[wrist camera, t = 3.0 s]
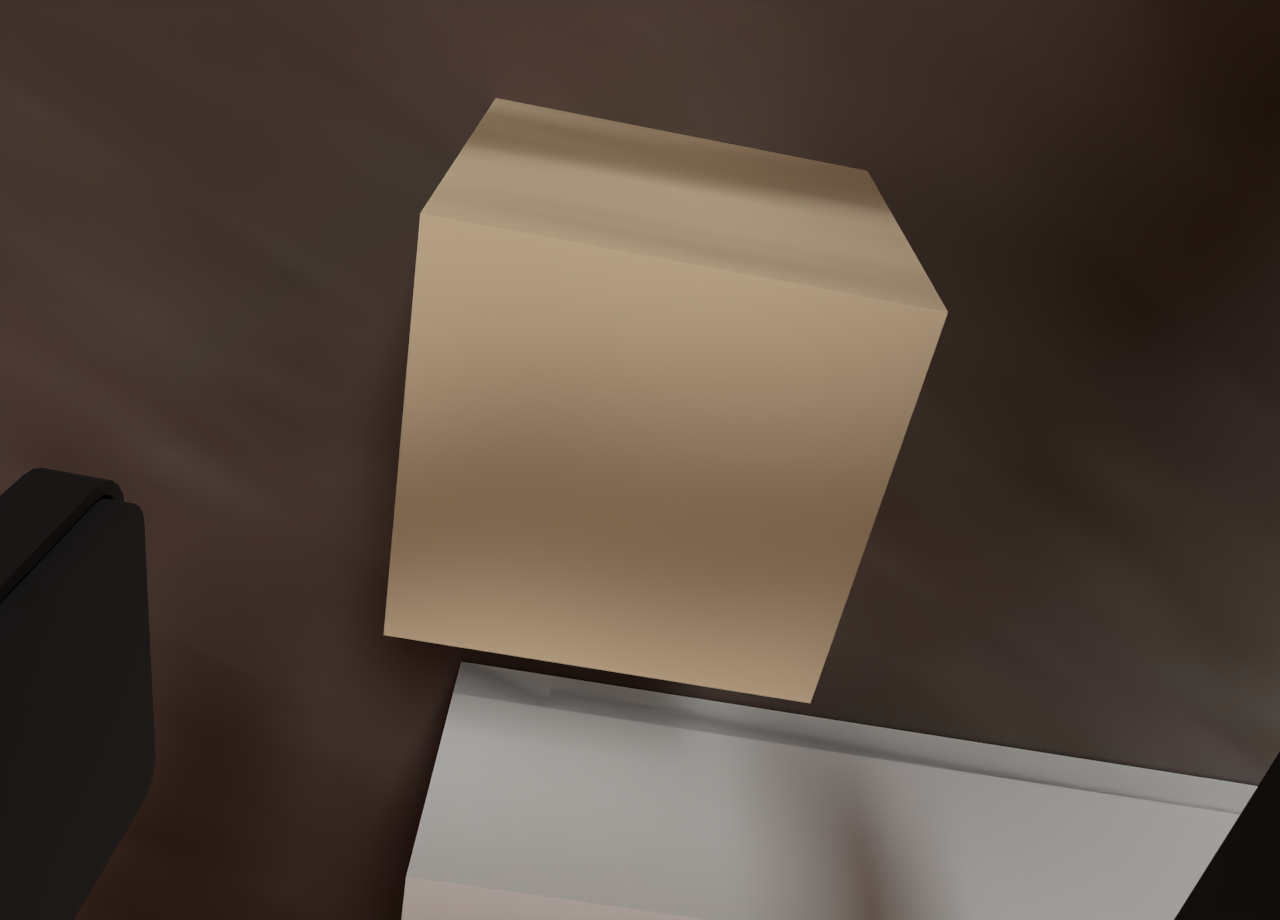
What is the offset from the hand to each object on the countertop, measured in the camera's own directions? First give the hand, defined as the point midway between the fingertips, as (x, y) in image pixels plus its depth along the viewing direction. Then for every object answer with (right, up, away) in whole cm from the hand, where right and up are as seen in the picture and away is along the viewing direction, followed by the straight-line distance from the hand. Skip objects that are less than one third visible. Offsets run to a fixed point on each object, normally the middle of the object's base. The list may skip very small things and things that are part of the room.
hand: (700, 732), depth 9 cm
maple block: (0, +4, +7) cm, 8 cm away
